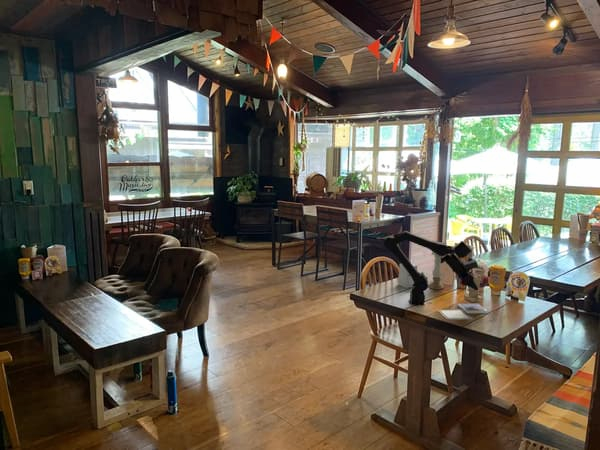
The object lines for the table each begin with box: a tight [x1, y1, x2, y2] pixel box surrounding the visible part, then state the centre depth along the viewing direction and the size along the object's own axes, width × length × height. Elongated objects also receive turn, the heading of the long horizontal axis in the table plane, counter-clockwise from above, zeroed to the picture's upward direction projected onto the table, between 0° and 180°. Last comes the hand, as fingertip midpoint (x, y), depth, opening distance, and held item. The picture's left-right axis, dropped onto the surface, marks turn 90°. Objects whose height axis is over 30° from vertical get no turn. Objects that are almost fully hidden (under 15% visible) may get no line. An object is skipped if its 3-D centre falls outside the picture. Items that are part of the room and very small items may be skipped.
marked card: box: [437, 309, 473, 320], centre depth 208 cm, size 12×12×1 cm
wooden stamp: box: [463, 275, 484, 304], centre depth 214 cm, size 6×6×13 cm
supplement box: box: [397, 263, 418, 289], centre depth 251 cm, size 7×7×13 cm
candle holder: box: [428, 251, 445, 290], centre depth 249 cm, size 9×9×20 cm
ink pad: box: [457, 303, 488, 314], centre depth 216 cm, size 10×10×2 cm
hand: (477, 288), depth 214 cm, fingers closed on wooden stamp, 4 cm apart
